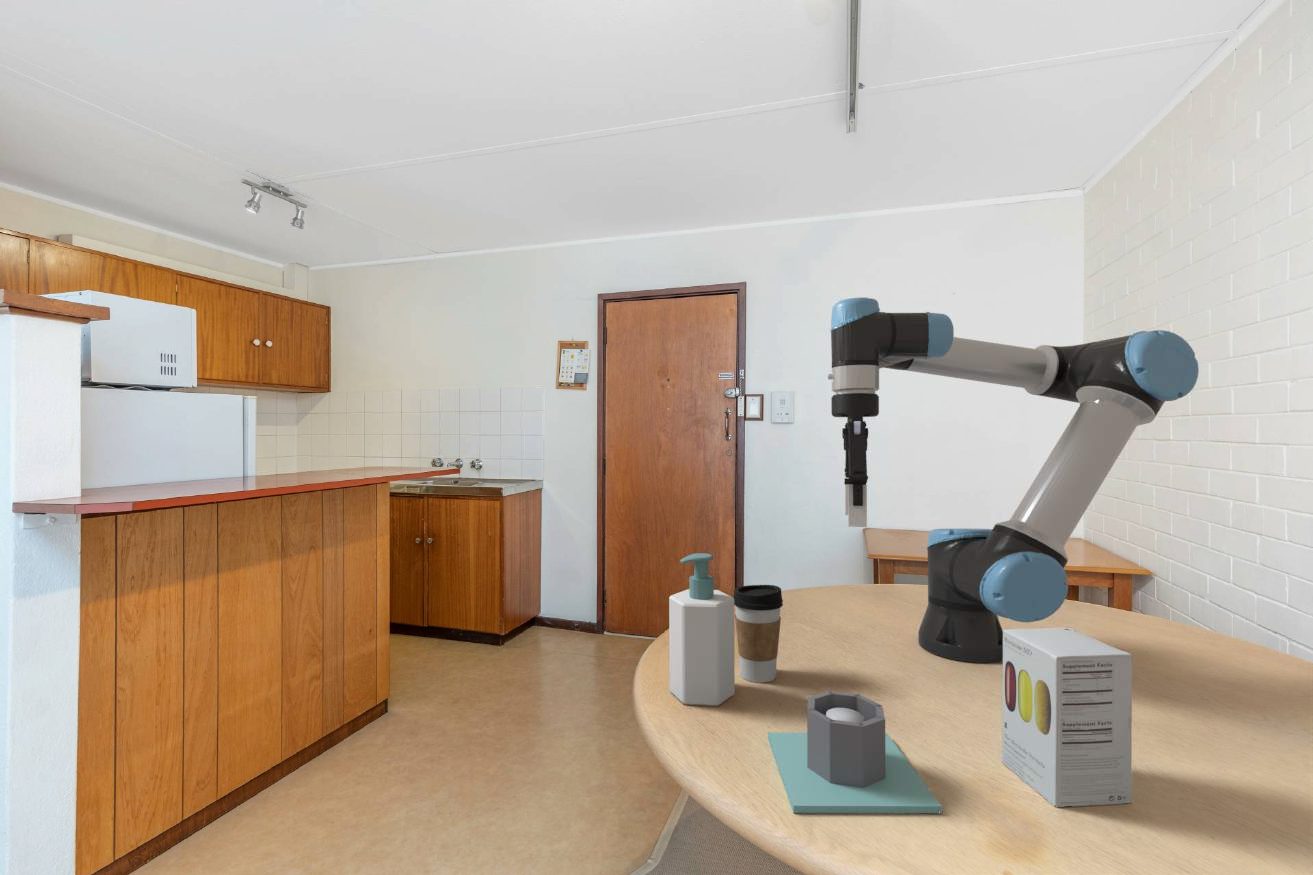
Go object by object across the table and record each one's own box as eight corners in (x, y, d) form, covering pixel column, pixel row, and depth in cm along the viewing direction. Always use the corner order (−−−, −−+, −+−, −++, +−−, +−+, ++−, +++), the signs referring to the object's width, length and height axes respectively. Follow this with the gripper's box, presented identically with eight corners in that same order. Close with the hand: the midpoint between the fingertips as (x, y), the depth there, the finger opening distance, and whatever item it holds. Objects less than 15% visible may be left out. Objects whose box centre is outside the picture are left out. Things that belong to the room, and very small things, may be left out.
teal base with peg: (886, 738, 80) (886, 687, 80) (941, 813, 64) (941, 750, 64) (767, 738, 80) (767, 687, 80) (793, 812, 64) (793, 750, 64)
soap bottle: (662, 685, 97) (662, 551, 97) (711, 676, 101) (711, 547, 101) (690, 712, 88) (690, 563, 88) (743, 701, 92) (743, 558, 92)
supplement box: (999, 761, 74) (998, 627, 74) (1068, 758, 75) (1067, 625, 75) (1057, 809, 65) (1056, 655, 65) (1135, 805, 66) (1135, 652, 66)
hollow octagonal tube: (808, 741, 78) (808, 688, 78) (880, 751, 75) (880, 696, 75) (806, 779, 69) (806, 719, 69) (887, 791, 67) (887, 729, 67)
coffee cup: (783, 687, 96) (783, 595, 96) (731, 683, 98) (730, 593, 98) (783, 668, 105) (782, 583, 105) (734, 664, 106) (734, 580, 106)
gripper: (830, 398, 112) (830, 510, 112) (832, 388, 88) (832, 531, 88) (872, 397, 110) (873, 511, 110) (886, 386, 86) (886, 533, 86)
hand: (855, 520), depth 99 cm, fingers open, 13 cm apart
